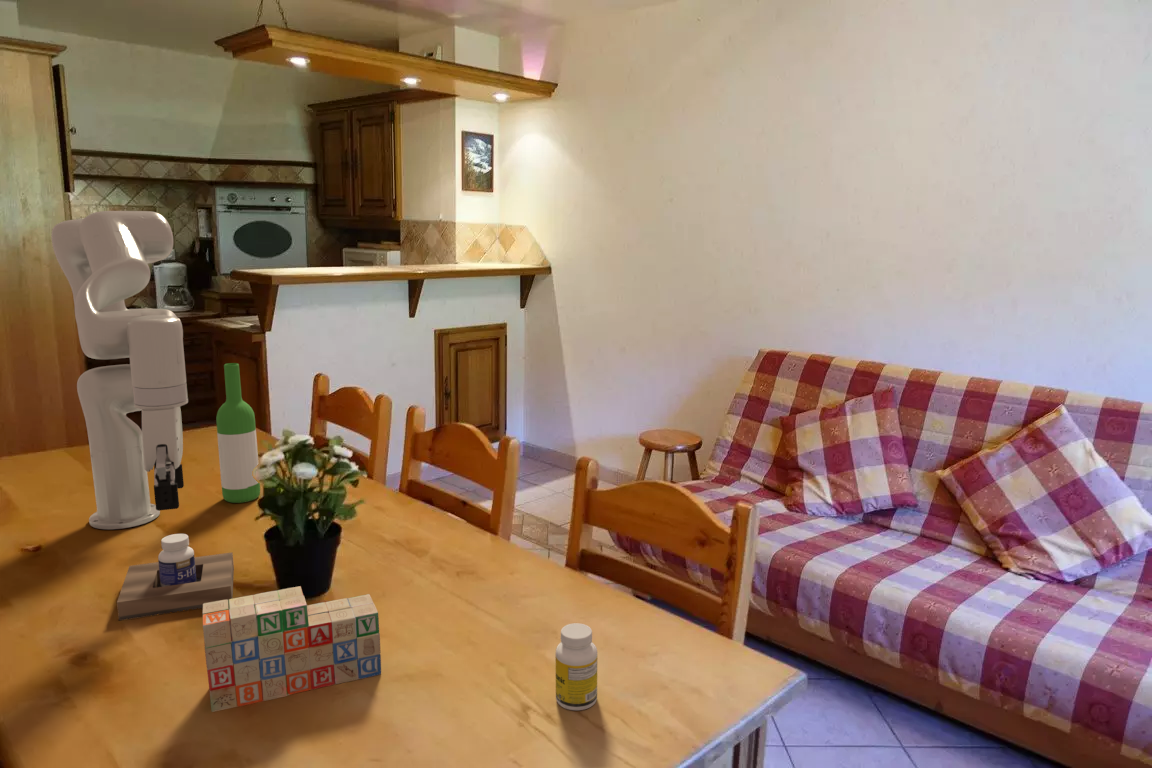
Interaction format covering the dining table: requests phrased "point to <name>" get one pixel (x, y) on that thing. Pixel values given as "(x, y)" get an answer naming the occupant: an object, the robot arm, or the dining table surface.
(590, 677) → the supplement bottle
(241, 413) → the wine bottle
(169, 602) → the holder block
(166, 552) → the pill bottle
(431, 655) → the dining table surface
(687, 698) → the dining table surface
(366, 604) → the stack of blocks
